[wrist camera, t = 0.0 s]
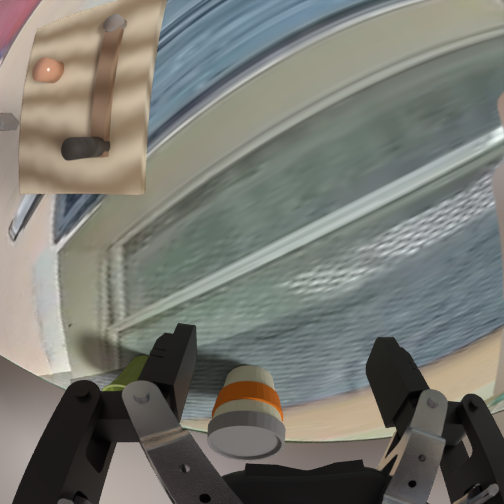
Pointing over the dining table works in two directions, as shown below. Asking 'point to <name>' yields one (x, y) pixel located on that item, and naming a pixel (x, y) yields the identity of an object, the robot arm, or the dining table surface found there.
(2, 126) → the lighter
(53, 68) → the peach rounded cube
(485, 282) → the dining table surface
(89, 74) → the board
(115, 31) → the lever
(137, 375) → the plant pot
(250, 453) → the reusable coffee cup
